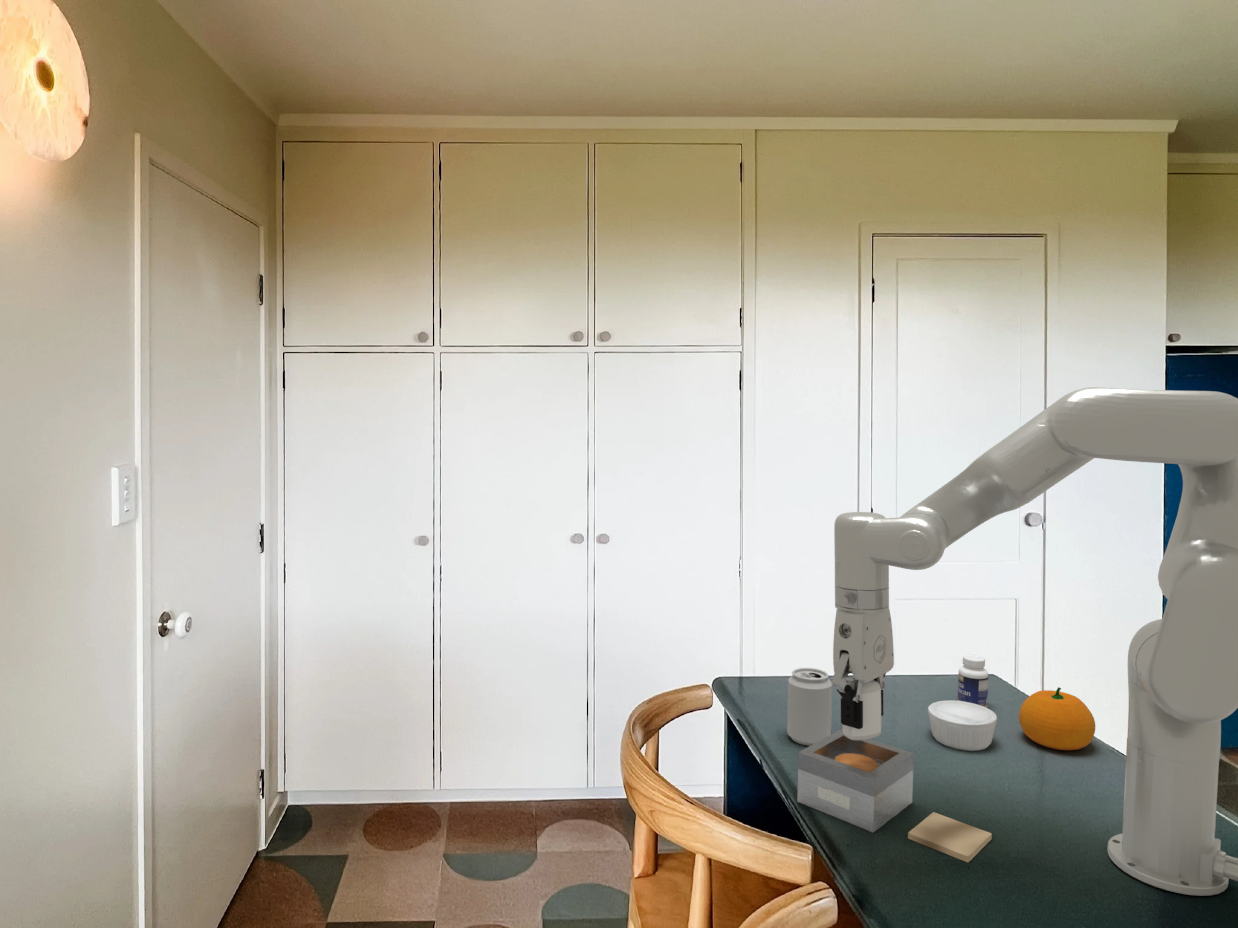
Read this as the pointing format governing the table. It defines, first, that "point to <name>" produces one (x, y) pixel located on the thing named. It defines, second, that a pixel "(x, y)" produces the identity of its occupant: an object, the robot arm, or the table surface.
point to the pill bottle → (973, 681)
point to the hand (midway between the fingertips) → (862, 719)
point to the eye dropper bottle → (867, 713)
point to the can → (809, 706)
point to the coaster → (950, 836)
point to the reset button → (857, 761)
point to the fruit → (1057, 720)
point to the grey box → (855, 781)
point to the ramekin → (962, 724)
